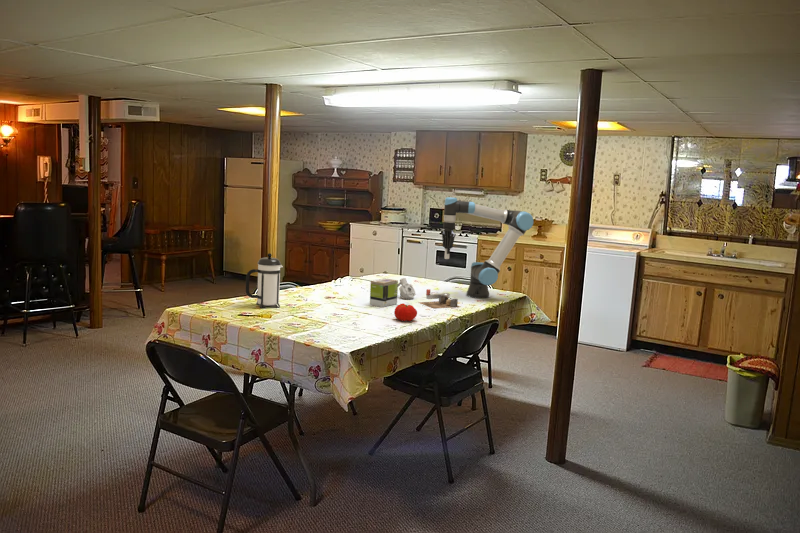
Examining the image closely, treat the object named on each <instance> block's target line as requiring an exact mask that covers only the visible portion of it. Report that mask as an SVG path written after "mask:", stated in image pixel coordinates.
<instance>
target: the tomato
mask: <svg viewBox="0 0 800 533" xmlns="http://www.w3.org/2000/svg"><path fill="white" fill-rule="evenodd" d="M396 305H397V306H396V307H395V309H394V311H393V313H394V314H393V315H394V317H395V318H396V319H397V320H399V321H400V322H412V320H415V319H416V317H417V315H418V311H417V309H416V308H415V307H414V306H413V305H411V304H405V303H400V304H396Z"/></svg>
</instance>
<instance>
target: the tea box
mask: <svg viewBox="0 0 800 533" xmlns="http://www.w3.org/2000/svg"><path fill="white" fill-rule="evenodd" d="M398 283H399V281H398V280H397V279H391V278H380V279H375V280H371V281H370V284H369V285H370V286H369V287H370V288H369V289H370V291H369V305H370V306H375V307H379V308H383V307H389V306H392V305H398V291H399V288H398V287H399V286H398Z"/></svg>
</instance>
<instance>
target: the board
mask: <svg viewBox="0 0 800 533" xmlns="http://www.w3.org/2000/svg"><path fill="white" fill-rule="evenodd" d="M448 299H449V298H445V303H442V304H440V303H439V300H435V301H422V302H421V301H418V302H417V303H418V304H420V305H422V306H426V307H429V308H430V309H433V310H434V309H435V310H436V309H450V308H451V309H453V308H461V306H460V305H459V304H458V303H459V302H458V300H459V299H458V298H452V299H451V298H450V299H451V305H450V306H448V305H447V304H446V300H448Z"/></svg>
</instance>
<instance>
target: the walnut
mask: <svg viewBox="0 0 800 533" xmlns="http://www.w3.org/2000/svg"><path fill="white" fill-rule="evenodd" d="M446 304H447V305H448V306H450V305H451V298H448V300H446Z"/></svg>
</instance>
